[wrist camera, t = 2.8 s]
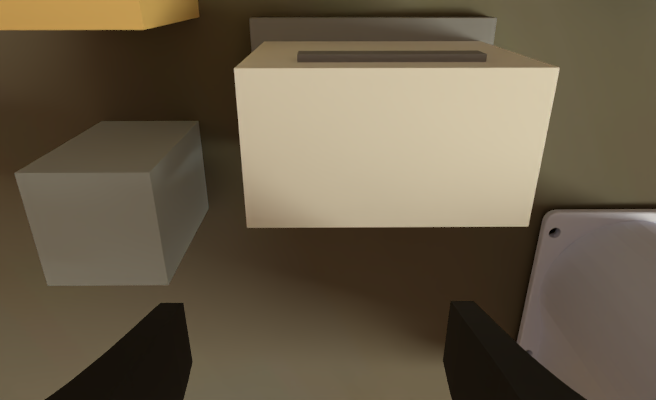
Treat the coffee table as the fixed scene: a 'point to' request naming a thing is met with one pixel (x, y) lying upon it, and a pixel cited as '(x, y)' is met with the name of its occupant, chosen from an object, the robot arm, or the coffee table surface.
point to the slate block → (117, 203)
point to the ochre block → (94, 14)
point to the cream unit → (389, 123)
